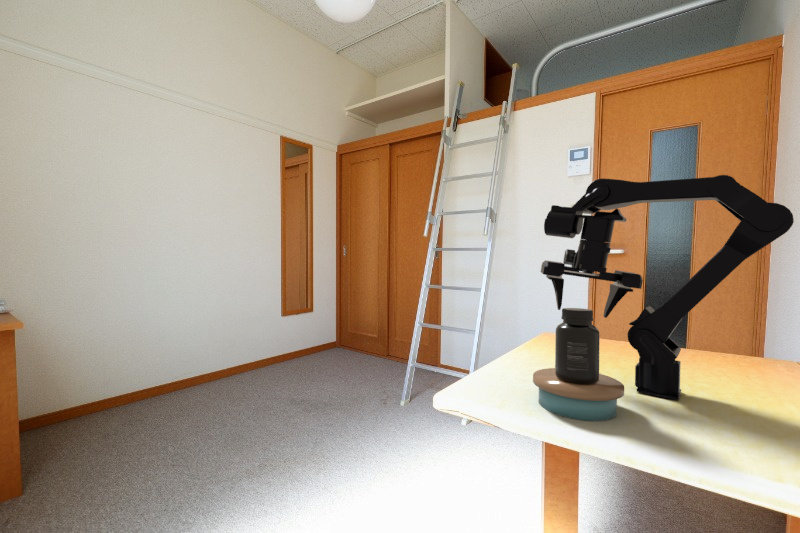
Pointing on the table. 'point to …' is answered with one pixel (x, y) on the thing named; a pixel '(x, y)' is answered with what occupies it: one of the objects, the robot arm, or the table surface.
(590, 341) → the supplement bottle
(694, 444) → the table surface
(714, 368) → the table surface
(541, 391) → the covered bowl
